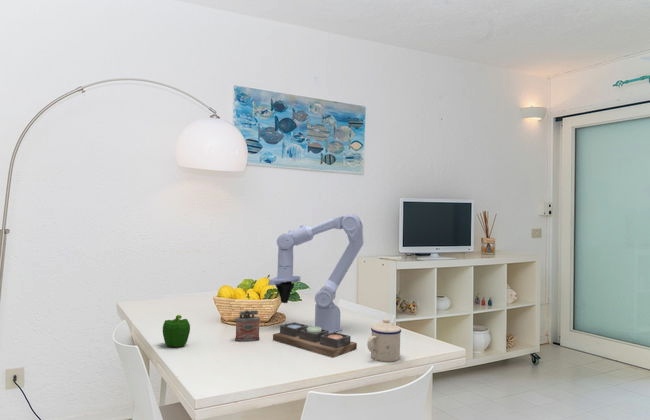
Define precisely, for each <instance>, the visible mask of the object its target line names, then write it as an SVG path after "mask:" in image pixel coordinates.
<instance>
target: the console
mask: <svg viewBox="0 0 650 420" xmlns="http://www.w3.org/2000/svg"><path fill="white" fill-rule="evenodd" d="M288 325H300V326H301V327H299V328H295V329H294V328H290V327H287V326H288ZM307 327H309V325H308V324H302V323H299V322H295V321H293V322H290V323H284V324H281V325H279V332H277V333H273V334H272V341H274V342H278V343H281V344H285V345H287V346H291V347H294V348H295V347H296V348H299V349H302V350H305V351H308V352H312V353H315V354H319V355H322V356H326V357H330V358H335V356H336V357H338V355H339V356H341V355H343V354H347V353H350V352H353V351H355V349H356V350H358V349H357V347H358V346H357V345H358V342H354V341H351V336H350V335H349V334H343V333H340V332H337V331H336V332H332V333H329V331H328V330H324V329H321V332H320V333H316V334H314V333H310V332H307ZM329 335H341V336H343V338H340V339H333V338H329V337H328V336H329ZM352 350H353V351H352Z"/></svg>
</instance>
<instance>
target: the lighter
mask: <svg viewBox="0 0 650 420" xmlns="http://www.w3.org/2000/svg"><path fill="white" fill-rule="evenodd" d="M257 315H259V310H257V309H256V310H254V309H253V310H249V309H245V310H244V311H243V310H242V311H241V310H240V311H239V316H237V317H235V322H236V323H235V339H234V342H237V343H240V342H241V343H242V342H243V343H244V342H245V343H246V342H258V341H260V320H261V317H260V316H257Z"/></svg>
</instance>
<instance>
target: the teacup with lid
mask: <svg viewBox="0 0 650 420" xmlns="http://www.w3.org/2000/svg"><path fill="white" fill-rule="evenodd" d="M370 330H371V336H370V337H369V338H368V340H367V341H366V342H367V343H366V347H367V350H368V351H369V352H370V356H371V358H372V359H373V358H374V359H373V360H375V359H376V360H375V361H378V360H379V361H378V362H386V363H387V362H388V363H391V362H396V361H398V360H400V356H401V332H402V329H401V327H400V326H398V325H396V324H394V323H392V322H390V319H389V318H383V319H382V321H381V322H378V323H377V324H373V325H372V326H371V328H370Z"/></svg>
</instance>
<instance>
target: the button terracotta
mask: <svg viewBox="0 0 650 420" xmlns="http://www.w3.org/2000/svg"><path fill="white" fill-rule="evenodd" d="M328 337H329V338H333V339H340V338H343V336H341V335H329V336H328Z"/></svg>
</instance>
